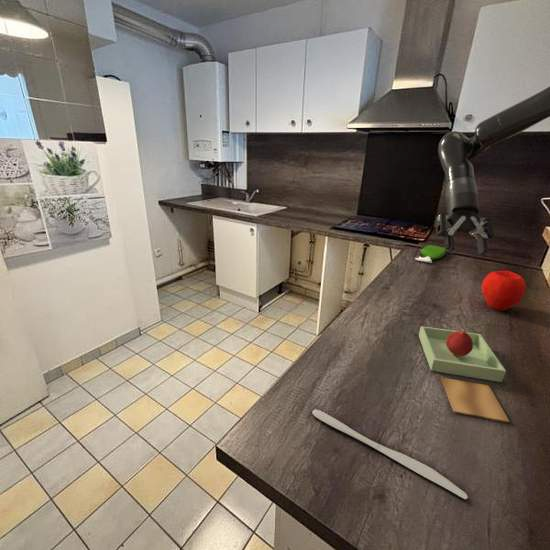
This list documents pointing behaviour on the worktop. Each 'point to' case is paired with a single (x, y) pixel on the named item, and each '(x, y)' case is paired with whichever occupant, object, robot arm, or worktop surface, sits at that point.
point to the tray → (470, 365)
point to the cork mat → (473, 400)
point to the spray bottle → (431, 253)
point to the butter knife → (393, 455)
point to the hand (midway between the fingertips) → (466, 252)
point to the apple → (503, 289)
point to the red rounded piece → (459, 343)
